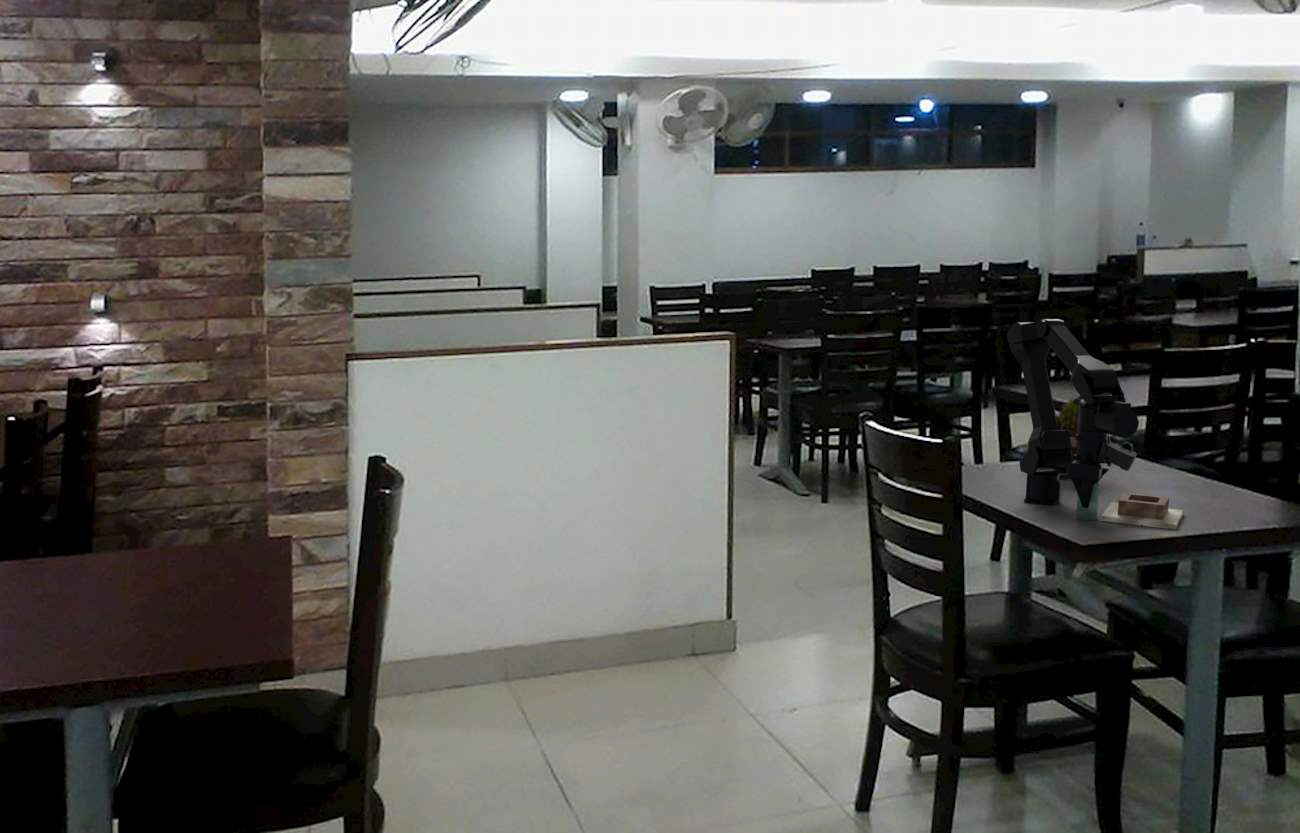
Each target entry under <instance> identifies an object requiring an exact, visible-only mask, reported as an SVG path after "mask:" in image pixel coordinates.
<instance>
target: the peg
mask: <svg viewBox="0 0 1300 833" xmlns="http://www.w3.org/2000/svg"><path fill="white" fill-rule="evenodd" d="M1099 495H1100V484H1099V483H1098V484H1097V483H1095V485H1094V489H1093V492H1092V496H1091V500H1090V504H1089V507H1088V508H1083V507H1082V504H1081V502H1080V499H1079V496H1078V495H1077V498H1076V499H1077V500H1076V514H1075V515H1076V516H1075V517H1076V518H1077V519H1079V520H1082V521H1096V520H1098V508H1099V497H1100V496H1099ZM1076 518H1075V519H1076Z"/></svg>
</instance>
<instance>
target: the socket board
mask: <svg viewBox="0 0 1300 833" xmlns="http://www.w3.org/2000/svg"><path fill="white" fill-rule="evenodd" d="M1169 505H1170V496H1166V495H1165V496H1162V495H1155V494H1154V495H1153V494H1145V493H1133V492H1128V491H1127V492H1126V491H1125V492H1124V493H1123V494H1122V495H1121V497H1120V498H1119V499H1118V502H1115V501H1114V502H1113V501H1112V502H1111V503H1110V504H1109V506H1107V508H1106V509H1105V511H1104V512H1103V514H1102V515H1101V519H1100V520H1101V521H1102V522H1108V523H1117V524H1125V525H1135V526H1141V525H1143V526H1142V527H1150V528H1152V527H1153V528H1160V529H1166V530H1167V529H1168V530H1177V528H1178V526H1179V524H1180V523H1181V520H1182V518H1183V517H1184V512H1185V511H1184V509H1175V508H1170V507H1169Z"/></svg>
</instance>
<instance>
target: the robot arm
mask: <svg viewBox="0 0 1300 833" xmlns="http://www.w3.org/2000/svg"><path fill="white" fill-rule="evenodd" d="M1006 339H1007V341H1008V346H1009V349H1010V351H1011V354H1012V355H1013V357H1014V358H1015V359H1016V360H1017V361H1018V362H1019V364H1020V365H1021V369H1022V375H1023V379H1024V380H1023V381H1024V385H1025V391H1026V397H1027V402H1028V407H1029V412H1030V413H1029V414H1030V419H1031V424H1032V431H1031V434H1030V437H1029V439H1028V441H1027V445H1028V447H1027V448H1028V450H1027V452H1026V453H1025V454H1024V455H1023V456H1022V458H1021V459H1020V460H1019V467H1020V468H1019V469H1020V472H1022V473H1024V474H1026V487H1025V488H1026V490H1025V497H1024V498H1023V502H1027V503H1028V502H1029V503H1035V504H1036V503H1037V504H1045V505H1052V506H1053V505H1056V504H1057V503H1058V502H1059V501H1060V500H1061V499H1062V487H1063V486H1062V485H1063V479H1060V473H1064V474H1066V476H1067V477H1070V478H1071V479H1070V480H1071V481H1072V484H1073V486H1074V489H1075V490H1076V493H1077V497H1078V496H1079V499H1080V502H1081V504H1082V507H1083V508H1088V507H1089V504H1090V500H1091V496H1092V492H1093V489H1094V485H1095V483H1097V484H1099V483H1100V481H1101V479H1103V477H1104V475H1105V474H1107V473H1108V471H1109V470H1110V469H1109V468H1104V467H1103V465H1102V464H1105V465H1107V467H1112V466H1113V465H1115V466H1117V467H1119V468H1120V469H1121V470H1123V471H1127V472H1128V471H1130V469H1131V468H1132V465H1133V464H1134V462H1135V460H1136V458H1137V455H1138V453H1137V452H1136V451H1134V445H1133V443H1130V442H1129V441H1125V442H1123V443H1121V445H1119V444H1118V443H1113V442H1111V436H1114V437H1118V438H1121V439H1128V438H1130V437H1132V436H1133V435H1135V433H1136V432H1137V430H1138V428H1139V425H1140V424H1139V423H1140V419H1139V418H1138V414H1137V413H1136V412H1135V411H1134V410H1132V404H1131V403H1130V402H1127V401H1126V397H1125V393H1124V391H1123V389H1122V388H1121V384H1120V382H1119V378H1118V375H1117V374H1116V372H1115V370H1114V369H1113V368H1112V367H1111V366H1109V365H1108V364H1107V363H1105V361H1101V360H1099V359H1096V358H1095V357H1093V356H1092V355H1090V354H1089V352H1088V351H1087V350H1086V348H1084V346H1083V345H1082V344H1081V343H1080V342H1079V341H1078V339H1077V338H1076V337H1075V336H1074V334H1072V333H1071V331H1070V330H1069V329H1068V327H1067V325H1066V322H1065V321H1064V320H1063V319H1060V318H1043V319H1041V320H1038V321H1034V322H1033V321H1032V322H1031V321H1027V322H1026V321H1024V322H1022V321H1021V322H1019V321H1017V322H1014V323H1013V324H1011V326H1010V327H1009V329H1008V330H1007V334H1006ZM1050 349H1051V350H1052V351H1054V353H1055V354H1056V356H1057V357H1058V358H1059V359H1060V360H1061V362H1062V363H1063V364H1064V365H1065V367H1066V368H1067V369H1068V370H1069V372H1070V382H1071V384H1072V386H1073V387H1074V389H1075V391H1076V393H1077V394H1079V396H1077V397H1075V400H1074V399H1073V400H1074V401H1073V400H1072V401H1073V403H1074V404H1076V405H1079V417H1078V432H1077V434H1076V435H1075V440H1077V446H1076V454H1075V455H1074V461H1073V462H1072V463H1071V464H1070V461H1071V458H1072V450H1071V449H1073V447H1072V445H1071V442H1070V434H1069V432H1068V430H1062V429H1061V428H1060V427H1059V426H1058V425H1057V421H1056V415H1055V414H1056V412H1055V411H1056V410H1055V405H1054V401H1053V395H1052V390H1051V384H1050V380H1049V379H1050V378H1049V374H1048V369H1047V363H1046V357H1048V353H1049V351H1050Z"/></svg>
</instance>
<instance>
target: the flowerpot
mask: <svg viewBox="0 0 1300 833" xmlns="http://www.w3.org/2000/svg"><path fill="white" fill-rule="evenodd" d="M1076 396H1077V394H1075V395H1074V396H1073V395H1071V396H1070V398H1069V401H1066V402H1064V403H1063V402H1062V403H1061V404H1062V405H1061V406H1060V408H1059V413H1057V410H1055V415H1056V421H1057V425H1058V426H1059V427H1060V428H1061V429H1062V430H1068V432H1069V434H1070V442H1071V445H1072V447H1073V449H1071V450H1072V458H1071V461H1070V464H1071V463H1072V462H1073V461H1074V455H1075V454H1076V446H1077V440H1075V435H1076V434H1077V432H1078V417H1079V405H1076V404H1074V403H1073V401H1074V400H1075V399H1076ZM1059 480H1072V479H1071V478H1070V477H1067V476H1066V474H1064V473H1060V479H1059Z"/></svg>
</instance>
